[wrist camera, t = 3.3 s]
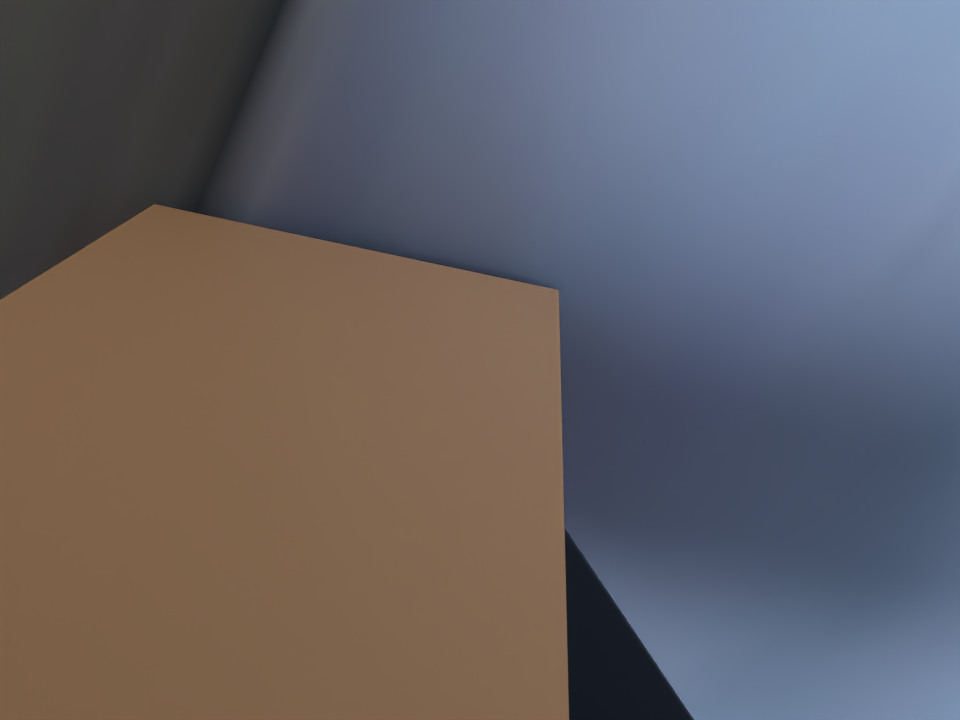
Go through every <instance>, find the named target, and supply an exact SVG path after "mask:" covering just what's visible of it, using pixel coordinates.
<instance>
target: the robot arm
mask: <svg viewBox="0 0 960 720" xmlns="http://www.w3.org/2000/svg"><path fill="white" fill-rule="evenodd" d="M564 528H565V527H564ZM565 570H566V612H567V654H568V696H569V720H694V719H693V718H692V716H691V715H690V713H689V712H688V710H687V709H686V707H685V706H684V704H683V703H682V701H681V700H680V698H679V697H678V695H677V694H676V692H675V691H674V689H673V688H672V687H671V685H670V684H669V682H668V681H667V679H666V678H665V676H664V675H663V673H662V672H661V670H660V669H659V667H658V666H657V664H656V663H655V661H654V660H653V658H652V657H651V655H650V654H649V652H648V651H647V649H646V648H645V646H644V645H643V643H642V642H641V640H640V639H639V637H638V636H637V634H636V633H635V632H634V630H633V629H632V627H631V626H630V624H629V623H628V621H627V620H626V618H625V617H624V615H623V614H622V612H621V611H620V609H619V608H618V606H617V605H616V603H615V602H614V600H613V599H612V597H611V596H610V594H609V593H608V591H607V590H606V588H605V587H604V585H603V584H602V582H601V581H600V579H599V578H598V577H597V575H596V574H595V572H594V571H593V569H592V568H591V566H590V565H589V563H588V562H587V560H586V559H585V557H584V556H583V554H582V553H581V551H580V550H579V548H578V547H577V545H576V544H575V542H574V541H573V539H572V538H571V536H570V535H569V533H568V532H567V530H566V529H565Z"/></svg>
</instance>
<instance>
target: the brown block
mask: <svg viewBox="0 0 960 720" xmlns="http://www.w3.org/2000/svg"><path fill="white" fill-rule="evenodd" d="M0 720H569V696H568V654H567V612H566V570H565V528H564V486H563V444H562V402H561V360H560V317H559V290H556V289H551V288H547V287H542V286H537V285H533V284H528V283H523V282H519V281H514V280H509V279H504V278H500V277H495V276H490V275H486V274H481V273H476V272H471V271H467V270H462V269H457V268H453V267H448V266H443V265H438V264H434V263H429V262H424V261H420V260H415V259H410V258H405V257H401V256H396V255H391V254H387V253H382V252H377V251H372V250H368V249H363V248H358V247H354V246H349V245H344V244H340V243H335V242H330V241H325V240H321V239H316V238H311V237H307V236H302V235H297V234H292V233H288V232H283V231H278V230H274V229H269V228H264V227H259V226H255V225H250V224H245V223H241V222H236V221H231V220H226V219H222V218H217V217H212V216H208V215H203V214H198V213H194V212H189V211H184V210H179V209H175V208H170V207H165V206H161V205H156V204H154V205H152V206H150V207H149V208H147V209H146V210H144V211H142V212H141V213H139V214H138V215H136V216H134V217H133V218H131V219H130V220H128V221H126V222H125V223H123V224H121V225H120V226H118V227H117V228H115V229H113V230H112V231H110V232H109V233H107V234H105V235H104V236H102V237H101V238H99V239H97V240H96V241H94V242H92V243H91V244H89V245H88V246H86V247H84V248H83V249H81V250H80V251H78V252H76V253H75V254H73V255H72V256H70V257H68V258H67V259H65V260H63V261H62V262H60V263H59V264H57V265H55V266H54V267H52V268H51V269H49V270H47V271H46V272H44V273H43V274H41V275H39V276H38V277H36V278H34V279H33V280H31V281H30V282H28V283H26V284H25V285H23V286H22V287H20V288H18V289H17V290H15V291H14V292H12V293H10V294H9V295H7V296H6V297H4V298H2V299H1V300H0Z"/></svg>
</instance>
